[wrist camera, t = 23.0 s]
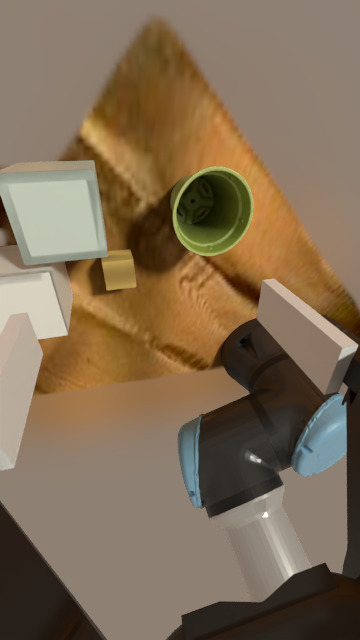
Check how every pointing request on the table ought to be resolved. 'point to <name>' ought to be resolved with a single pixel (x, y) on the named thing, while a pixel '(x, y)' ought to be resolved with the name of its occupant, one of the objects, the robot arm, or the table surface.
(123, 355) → the table surface
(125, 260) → the mustard cube
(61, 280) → the white cover
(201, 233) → the plant pot
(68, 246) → the sage cover
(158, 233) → the table surface
